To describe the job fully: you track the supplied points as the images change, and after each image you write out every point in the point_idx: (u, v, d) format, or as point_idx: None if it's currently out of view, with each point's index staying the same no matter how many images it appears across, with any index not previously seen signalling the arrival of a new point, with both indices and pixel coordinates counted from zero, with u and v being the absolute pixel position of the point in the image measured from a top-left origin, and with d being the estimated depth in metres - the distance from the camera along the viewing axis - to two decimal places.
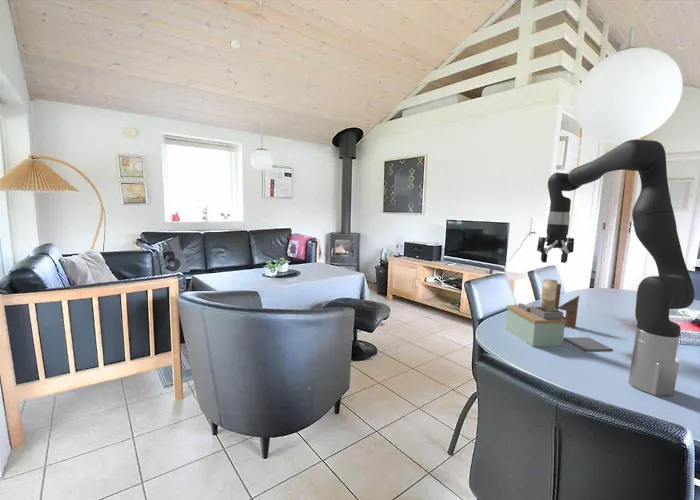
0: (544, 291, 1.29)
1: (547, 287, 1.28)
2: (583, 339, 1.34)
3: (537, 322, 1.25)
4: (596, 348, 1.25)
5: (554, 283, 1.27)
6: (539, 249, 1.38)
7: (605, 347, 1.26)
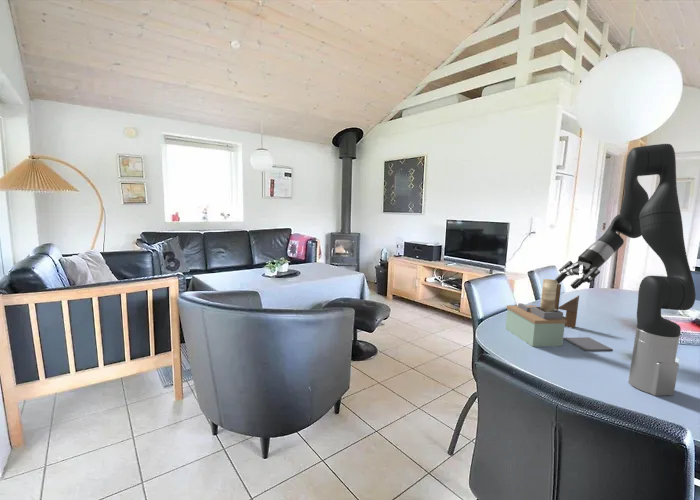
0: (544, 291, 1.29)
1: (547, 287, 1.28)
2: (583, 339, 1.34)
3: (537, 322, 1.25)
4: (596, 348, 1.25)
5: (554, 283, 1.27)
6: None
7: (605, 347, 1.26)
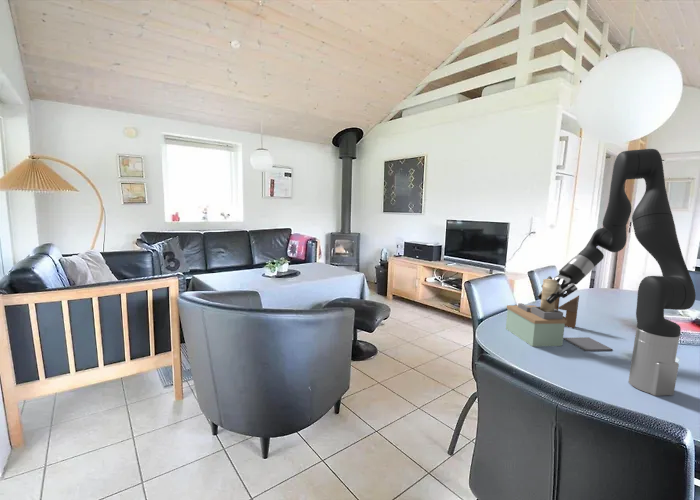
0: (544, 291, 1.29)
1: (547, 287, 1.28)
2: (583, 339, 1.34)
3: (537, 322, 1.25)
4: (596, 348, 1.25)
5: (554, 283, 1.27)
6: None
7: (605, 347, 1.26)
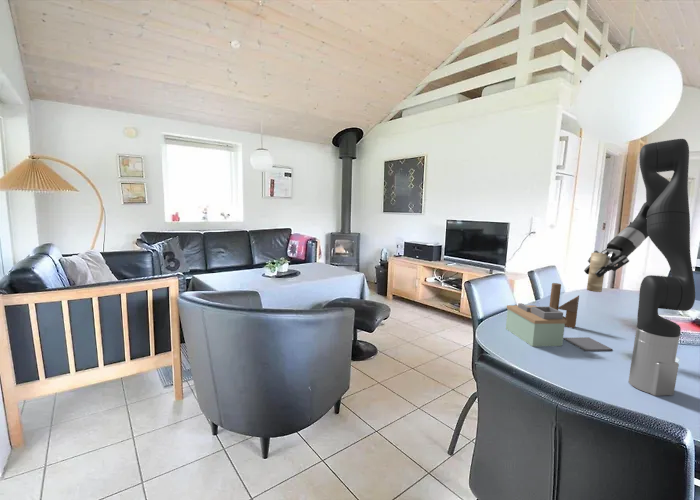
0: (593, 265, 1.25)
1: (596, 260, 1.24)
2: (583, 339, 1.34)
3: (537, 322, 1.25)
4: (596, 348, 1.25)
5: (604, 256, 1.23)
6: None
7: (605, 347, 1.26)
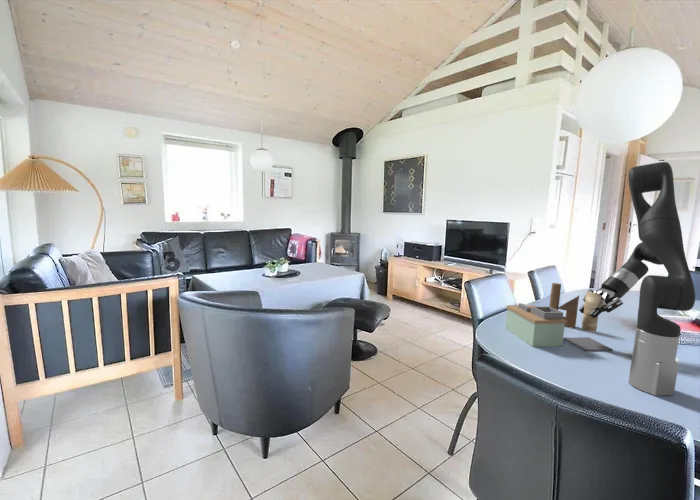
0: (587, 305, 1.27)
1: (590, 301, 1.26)
2: (583, 339, 1.34)
3: (537, 322, 1.25)
4: (596, 348, 1.25)
5: (598, 297, 1.25)
6: None
7: (605, 347, 1.26)
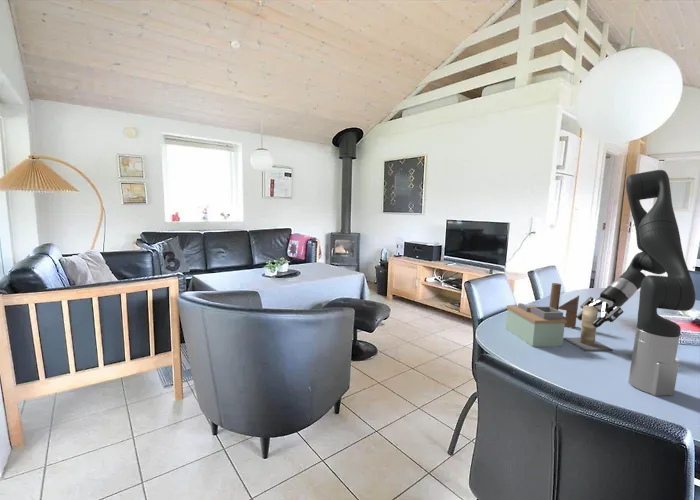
0: (584, 318, 1.28)
1: (587, 314, 1.27)
2: None
3: (537, 322, 1.25)
4: (596, 348, 1.25)
5: (595, 311, 1.26)
6: (582, 306, 1.35)
7: (605, 347, 1.26)
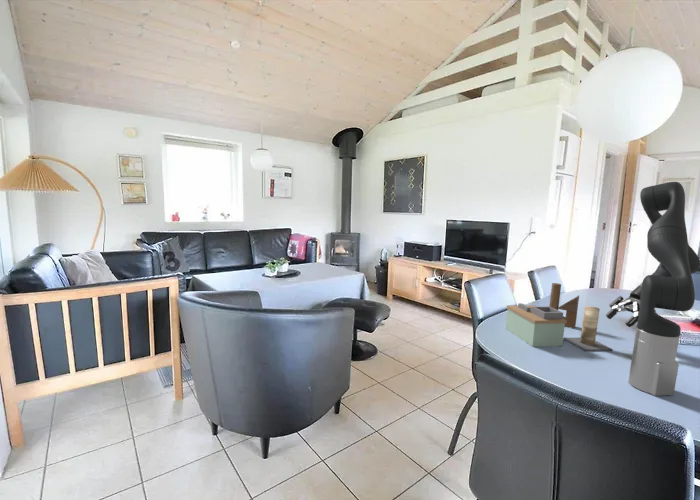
0: (586, 319, 1.28)
1: (589, 314, 1.27)
2: None
3: (537, 322, 1.25)
4: (596, 348, 1.25)
5: (597, 311, 1.26)
6: None
7: (605, 347, 1.26)
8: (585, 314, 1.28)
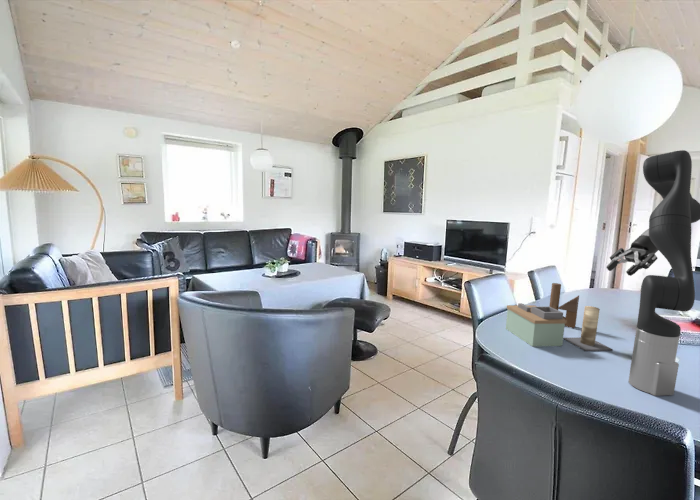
0: (586, 319, 1.28)
1: (589, 314, 1.27)
2: None
3: (537, 322, 1.25)
4: (596, 348, 1.25)
5: (597, 311, 1.26)
6: None
7: (605, 347, 1.26)
8: (585, 314, 1.28)
